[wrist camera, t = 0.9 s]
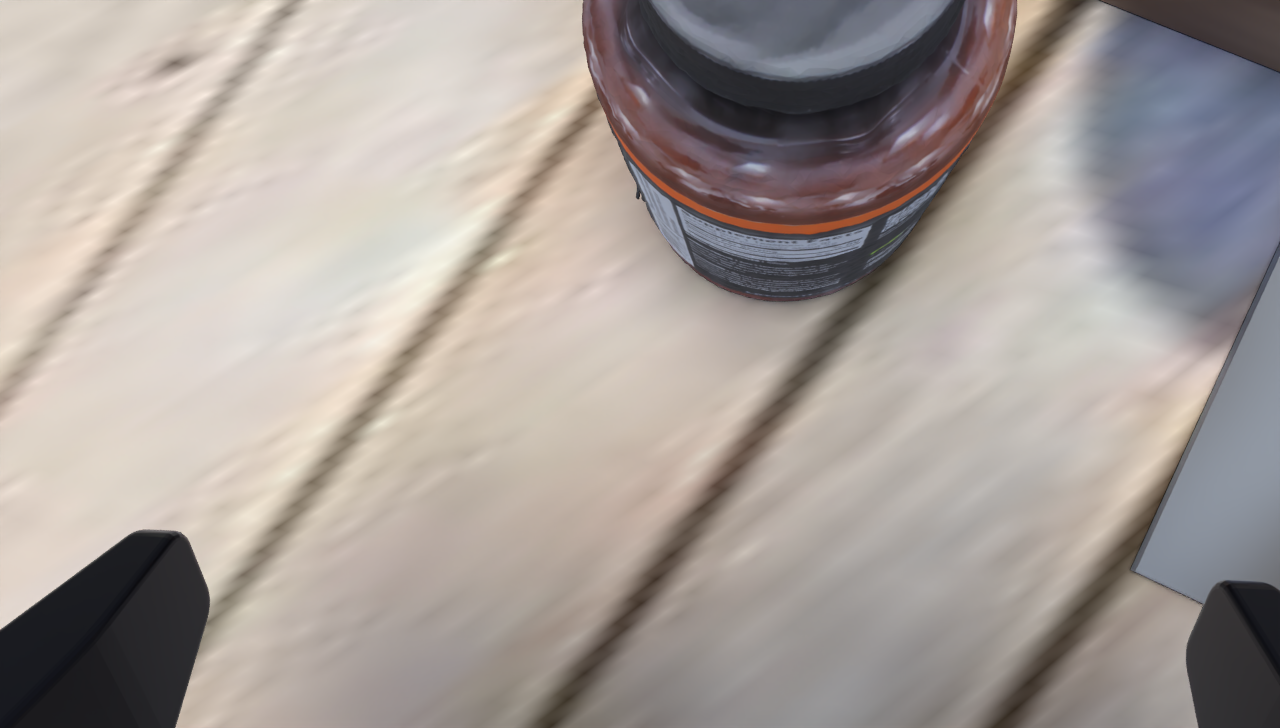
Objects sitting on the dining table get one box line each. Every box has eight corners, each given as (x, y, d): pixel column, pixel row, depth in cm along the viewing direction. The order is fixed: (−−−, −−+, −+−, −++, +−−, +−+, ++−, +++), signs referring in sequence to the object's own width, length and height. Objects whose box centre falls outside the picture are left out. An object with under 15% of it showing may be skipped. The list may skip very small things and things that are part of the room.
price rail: (445, 247, 24) (383, 204, 20) (706, -285, 24) (697, -432, 20) (1665, 821, 20) (1887, 909, 16) (1940, 185, 21) (2221, 120, 17)
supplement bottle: (700, -2, 24) (650, -423, 12) (965, 83, 23) (1169, -284, 12) (602, 254, 23) (461, 58, 12) (868, 349, 23) (979, 235, 11)
